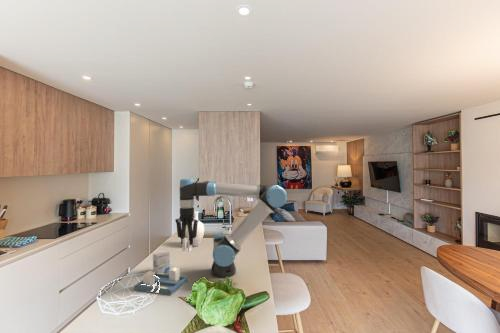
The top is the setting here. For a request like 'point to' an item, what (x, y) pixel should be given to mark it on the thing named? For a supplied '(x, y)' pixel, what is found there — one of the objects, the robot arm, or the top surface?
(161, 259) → the ink box
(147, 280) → the tab
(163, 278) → the switch board
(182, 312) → the top surface
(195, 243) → the vase
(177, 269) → the tab
